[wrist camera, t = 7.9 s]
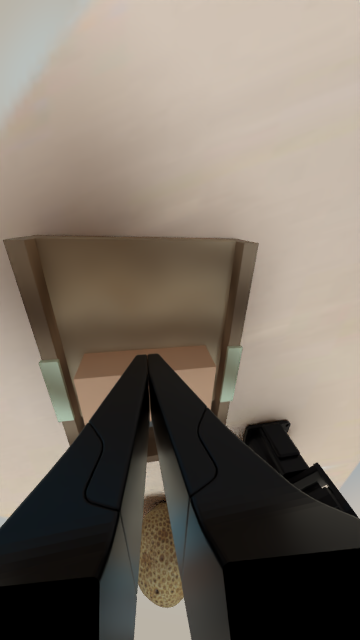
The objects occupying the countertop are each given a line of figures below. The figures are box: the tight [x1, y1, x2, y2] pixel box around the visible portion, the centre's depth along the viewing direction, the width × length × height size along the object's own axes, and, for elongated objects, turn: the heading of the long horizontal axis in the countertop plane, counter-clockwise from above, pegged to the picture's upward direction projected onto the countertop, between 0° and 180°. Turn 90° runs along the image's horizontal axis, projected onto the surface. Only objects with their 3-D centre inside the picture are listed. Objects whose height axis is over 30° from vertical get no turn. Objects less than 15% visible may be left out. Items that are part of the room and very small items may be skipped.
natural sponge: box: [138, 502, 184, 608], centre depth 29 cm, size 9×9×10 cm
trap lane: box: [3, 235, 259, 462], centre depth 19 cm, size 22×15×4 cm
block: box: [73, 345, 216, 425], centre depth 17 cm, size 5×10×3 cm, turn 88°
